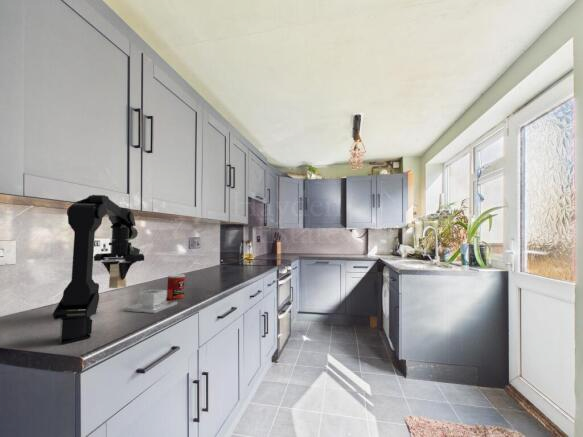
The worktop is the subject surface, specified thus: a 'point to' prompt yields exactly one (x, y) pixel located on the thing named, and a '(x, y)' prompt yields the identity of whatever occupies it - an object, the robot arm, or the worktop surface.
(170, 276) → the canned food
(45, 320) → the worktop surface
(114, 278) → the rail end
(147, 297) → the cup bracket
